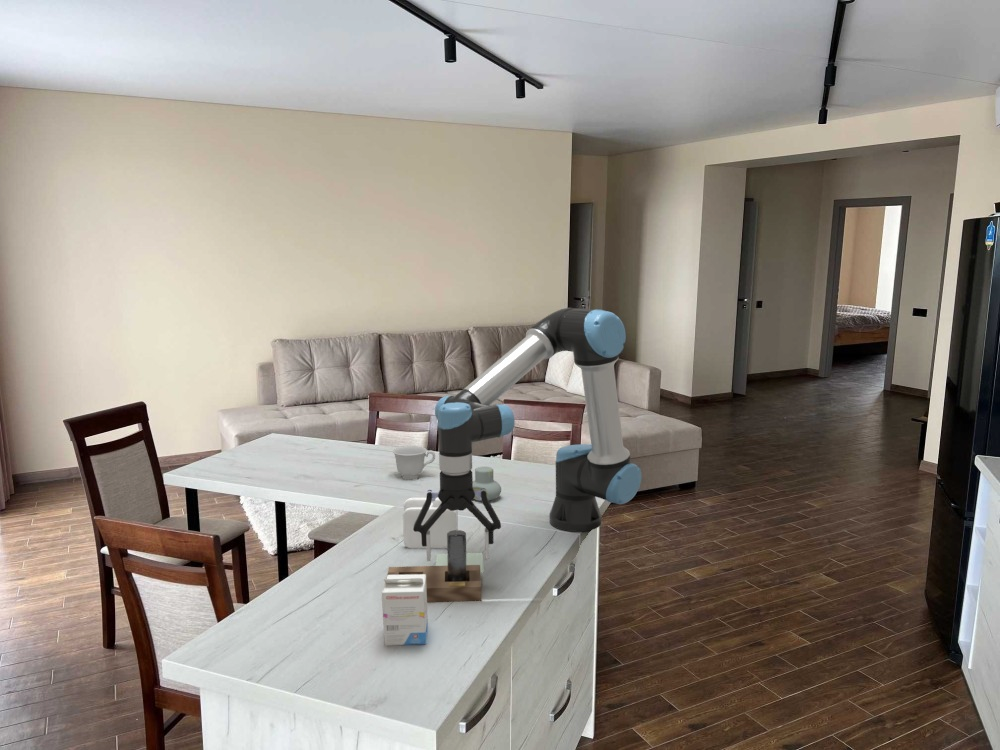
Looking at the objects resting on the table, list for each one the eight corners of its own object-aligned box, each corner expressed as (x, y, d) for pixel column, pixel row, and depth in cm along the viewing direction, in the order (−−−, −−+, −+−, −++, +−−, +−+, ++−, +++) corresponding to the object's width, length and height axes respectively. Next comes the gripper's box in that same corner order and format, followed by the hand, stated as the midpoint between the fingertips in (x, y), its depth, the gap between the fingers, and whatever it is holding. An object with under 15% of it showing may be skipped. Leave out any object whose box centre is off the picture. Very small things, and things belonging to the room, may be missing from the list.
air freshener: (463, 499, 237) (463, 469, 235) (476, 492, 244) (475, 463, 242) (493, 505, 232) (493, 474, 230) (505, 497, 239) (505, 467, 237)
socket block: (480, 578, 180) (479, 564, 179) (481, 601, 168) (481, 586, 167) (389, 580, 178) (389, 566, 178) (384, 603, 167) (383, 588, 166)
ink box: (428, 624, 157) (427, 565, 155) (425, 645, 149) (424, 583, 147) (388, 625, 157) (386, 566, 155) (383, 646, 149) (381, 584, 147)
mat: (482, 555, 193) (482, 552, 193) (483, 574, 182) (483, 572, 181) (436, 556, 193) (436, 553, 193) (435, 575, 181) (435, 573, 181)
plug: (466, 585, 176) (465, 529, 173) (466, 594, 171) (466, 537, 169) (448, 586, 175) (447, 530, 173) (447, 594, 171) (446, 537, 169)
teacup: (433, 482, 254) (433, 454, 252) (390, 482, 254) (389, 454, 253) (437, 472, 266) (436, 445, 264) (396, 472, 266) (395, 445, 265)
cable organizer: (400, 551, 196) (399, 509, 194) (405, 535, 207) (404, 496, 205) (456, 550, 196) (456, 509, 194) (458, 535, 207) (458, 496, 205)
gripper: (509, 464, 173) (510, 549, 177) (402, 467, 172) (405, 552, 175) (511, 473, 165) (512, 562, 169) (400, 477, 164) (403, 566, 168)
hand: (458, 557), depth 172 cm, fingers open, 13 cm apart
